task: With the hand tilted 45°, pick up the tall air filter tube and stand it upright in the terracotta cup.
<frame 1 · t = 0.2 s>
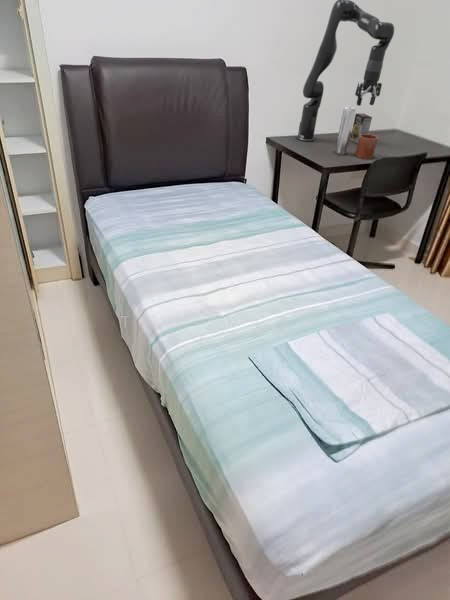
hand: (364, 105, 223), 29 cm above the table, tool pointing down, fingers open, 8 cm apart
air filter: (340, 153, 252), on the table
cup: (363, 156, 250), on the table
coffee box: (357, 142, 276), on the table
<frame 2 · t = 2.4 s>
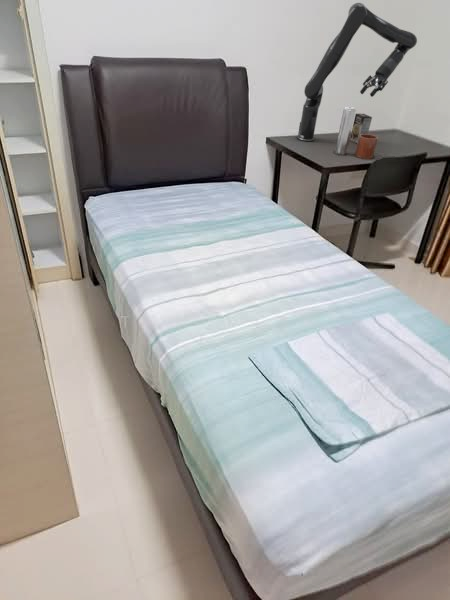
hand: (366, 94, 238), 31 cm above the table, tool tilted 40°, fingers open, 8 cm apart
nothing on the table moved.
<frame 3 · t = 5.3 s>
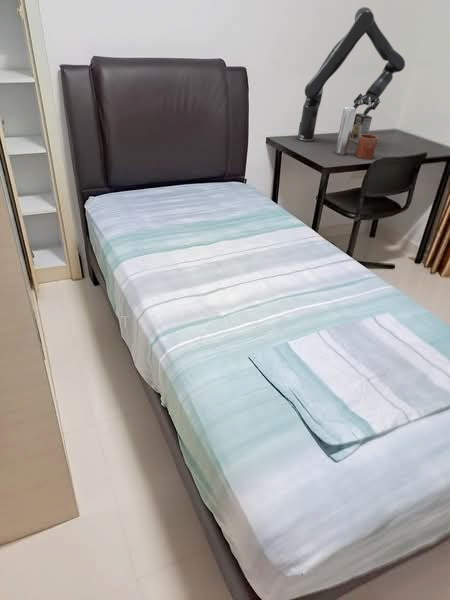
hand: (358, 112, 243), 22 cm above the table, tool tilted 45°, fingers open, 8 cm apart
nothing on the table moved.
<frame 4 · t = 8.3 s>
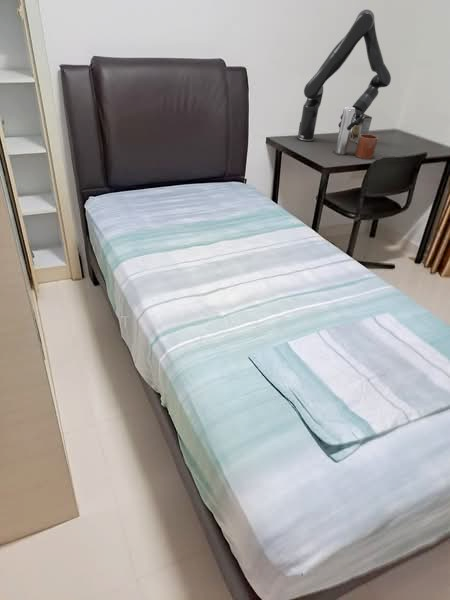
hand: (343, 127, 243), 14 cm above the table, tool tilted 45°, fingers closed on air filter, 6 cm apart
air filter: (340, 153, 252), on the table, touching gripper
everything else where it was.
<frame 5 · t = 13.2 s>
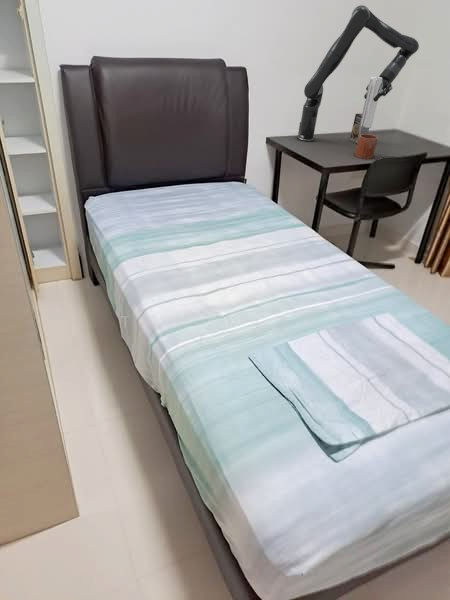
hand: (369, 99, 232), 30 cm above the table, tool tilted 45°, fingers closed on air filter, 5 cm apart
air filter: (365, 126, 241), point 16 cm above the table, touching gripper
everything else where it was.
when the fingers open (15 cm above the table, at t = 18.2 s): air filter stays where it is, resting on cup.
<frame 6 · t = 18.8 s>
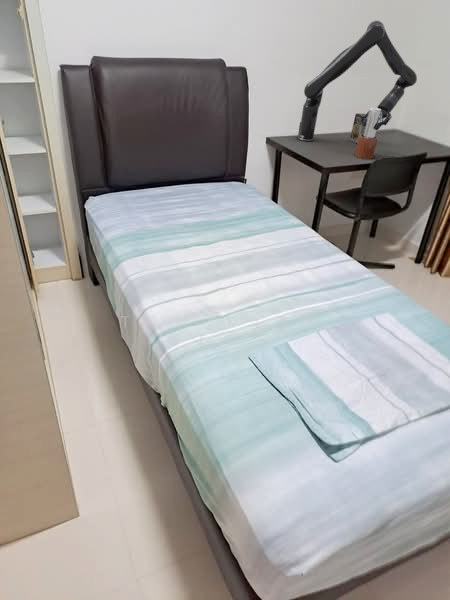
hand: (369, 127, 240), 16 cm above the table, tool tilted 45°, fingers open, 8 cm apart
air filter: (364, 154, 250), point 1 cm above the table, touching cup
everything else where it was.
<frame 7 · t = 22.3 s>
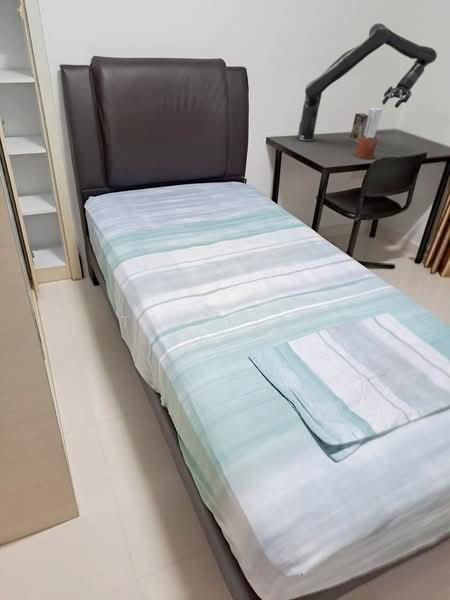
hand: (389, 105, 240), 27 cm above the table, tool tilted 45°, fingers open, 8 cm apart
nothing on the table moved.
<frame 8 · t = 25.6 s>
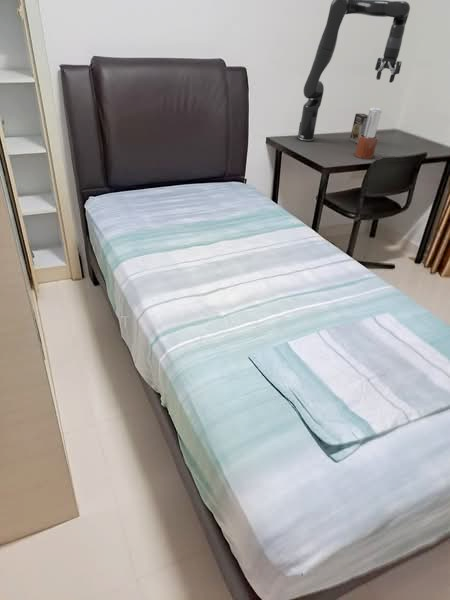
hand: (384, 80, 237), 38 cm above the table, tool pointing down, fingers open, 8 cm apart
nothing on the table moved.
at the end: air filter 0.2 cm off-centre in the cup, point 0.6 cm above the cup's base; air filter tilted 0°; the gripper is holding nothing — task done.
